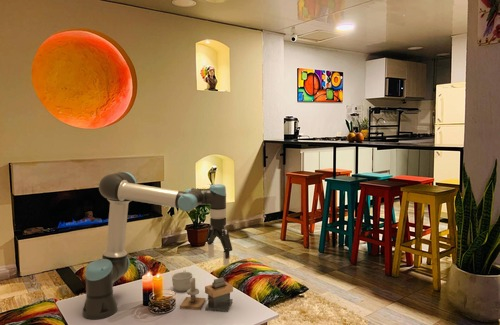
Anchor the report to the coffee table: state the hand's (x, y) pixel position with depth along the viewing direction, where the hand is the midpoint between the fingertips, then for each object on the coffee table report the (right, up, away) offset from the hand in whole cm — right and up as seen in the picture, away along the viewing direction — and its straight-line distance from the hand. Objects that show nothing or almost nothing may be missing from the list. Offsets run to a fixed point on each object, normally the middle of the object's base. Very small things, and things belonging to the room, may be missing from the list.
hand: (218, 261), depth 185 cm
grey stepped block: (0, -22, +2) cm, 22 cm away
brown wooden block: (0, -15, +1) cm, 15 cm away
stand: (-13, -22, +4) cm, 26 cm away
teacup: (-21, -21, +24) cm, 38 cm away
